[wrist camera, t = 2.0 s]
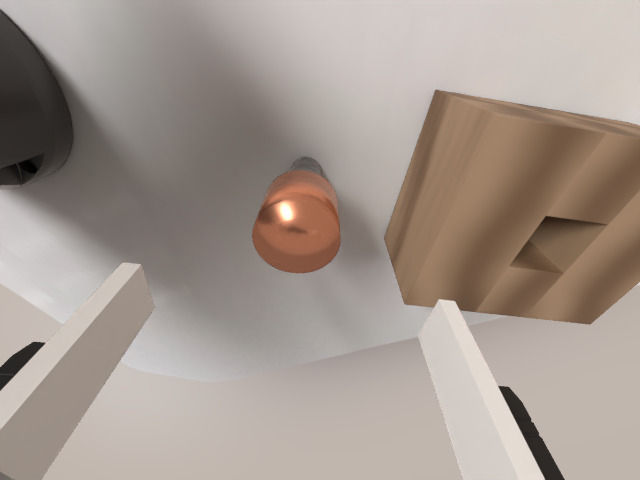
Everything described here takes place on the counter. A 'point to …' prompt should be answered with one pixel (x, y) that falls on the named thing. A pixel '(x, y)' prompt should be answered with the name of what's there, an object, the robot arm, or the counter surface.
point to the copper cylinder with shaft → (298, 220)
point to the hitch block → (518, 211)
